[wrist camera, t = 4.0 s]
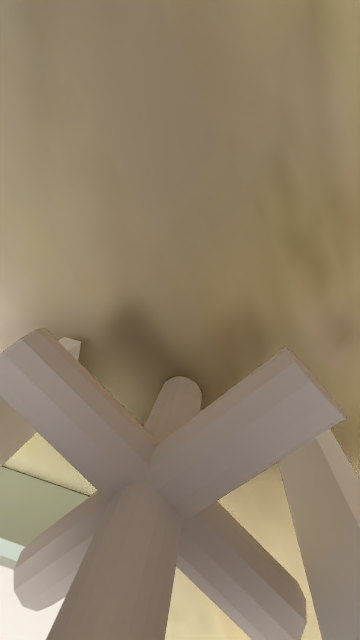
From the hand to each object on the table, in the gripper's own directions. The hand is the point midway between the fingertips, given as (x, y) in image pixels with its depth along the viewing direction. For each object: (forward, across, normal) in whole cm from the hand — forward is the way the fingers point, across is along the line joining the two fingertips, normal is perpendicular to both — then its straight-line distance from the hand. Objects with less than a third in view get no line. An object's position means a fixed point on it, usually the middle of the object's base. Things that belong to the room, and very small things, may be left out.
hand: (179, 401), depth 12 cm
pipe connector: (+1, 0, 0) cm, 1 cm away
